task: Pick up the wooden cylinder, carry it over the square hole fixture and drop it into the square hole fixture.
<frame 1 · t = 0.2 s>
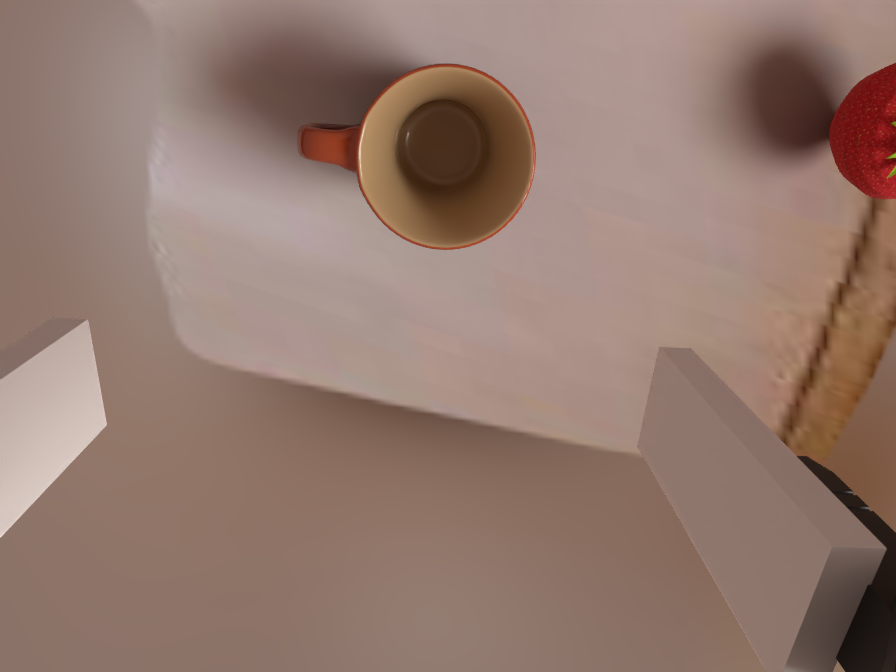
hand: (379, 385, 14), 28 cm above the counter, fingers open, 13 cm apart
mug: (417, 139, 39), on the counter
strawberry: (835, 126, 39), on the counter
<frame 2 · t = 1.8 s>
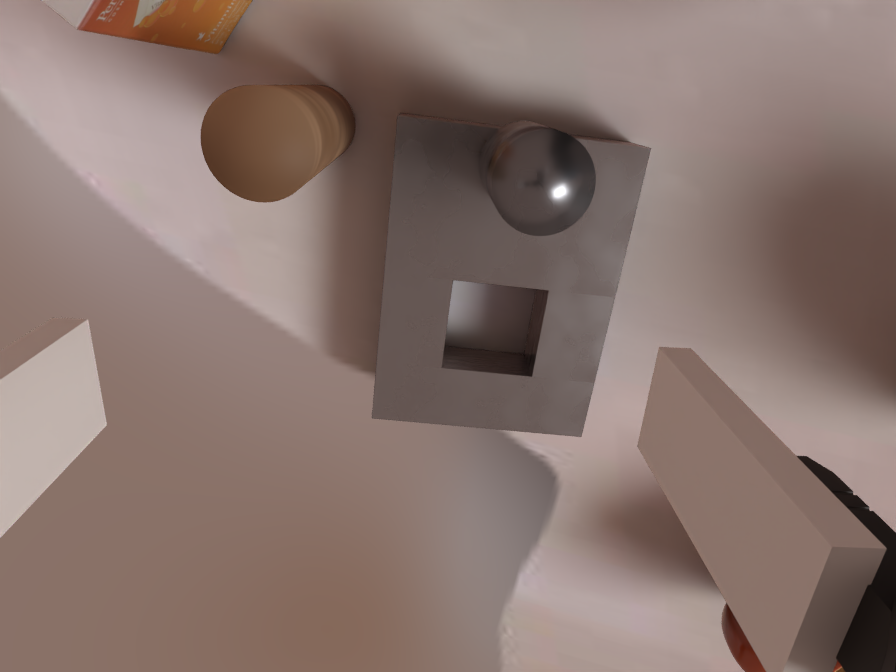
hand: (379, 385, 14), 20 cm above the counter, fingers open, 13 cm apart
wooden cylinder: (319, 123, 30), on the counter
square hole fixture: (493, 277, 34), on the counter
mug: (761, 559, 43), on the counter
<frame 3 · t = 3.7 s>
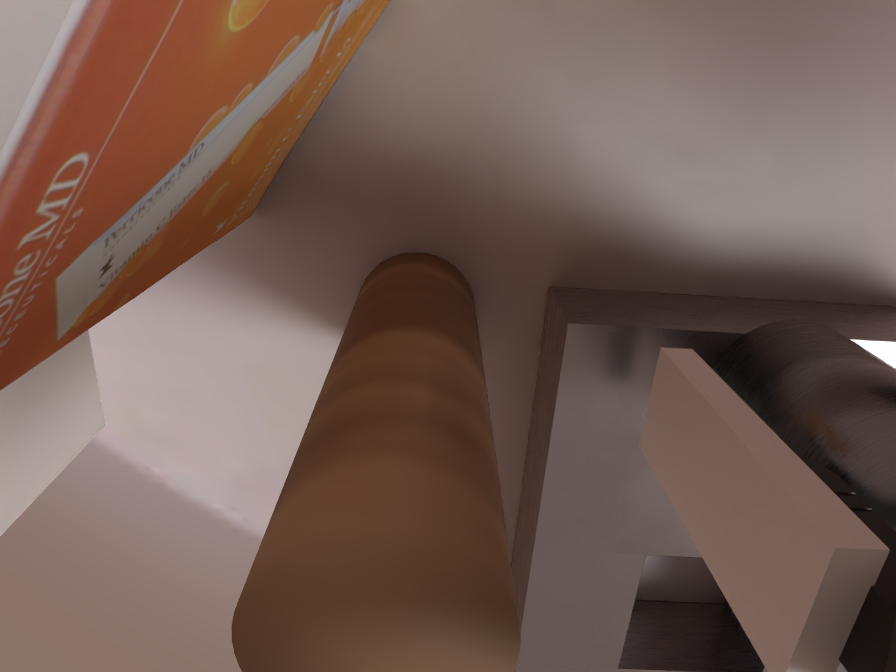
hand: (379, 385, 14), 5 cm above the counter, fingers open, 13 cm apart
wooden cylinder: (416, 309, 19), on the counter
square hole fixture: (686, 508, 22), on the counter
small box: (230, 24, 16), on the counter
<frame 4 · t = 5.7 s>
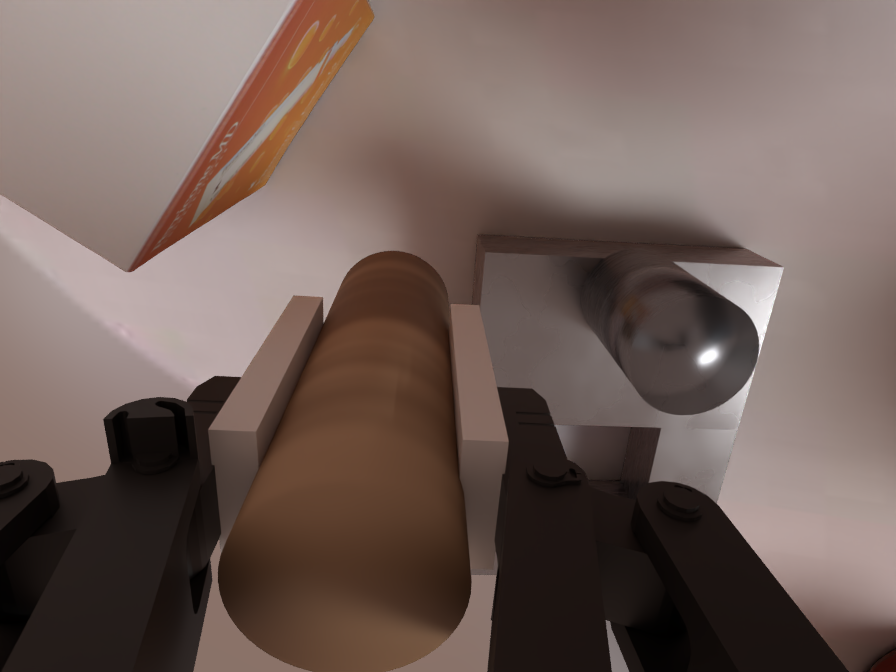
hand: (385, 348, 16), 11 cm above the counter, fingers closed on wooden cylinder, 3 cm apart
wooden cylinder: (393, 304, 20), point 7 cm above the counter, touching gripper
square hole fixture: (586, 402, 29), on the counter
mug: (883, 670, 38), on the counter
small box: (252, 51, 23), on the counter
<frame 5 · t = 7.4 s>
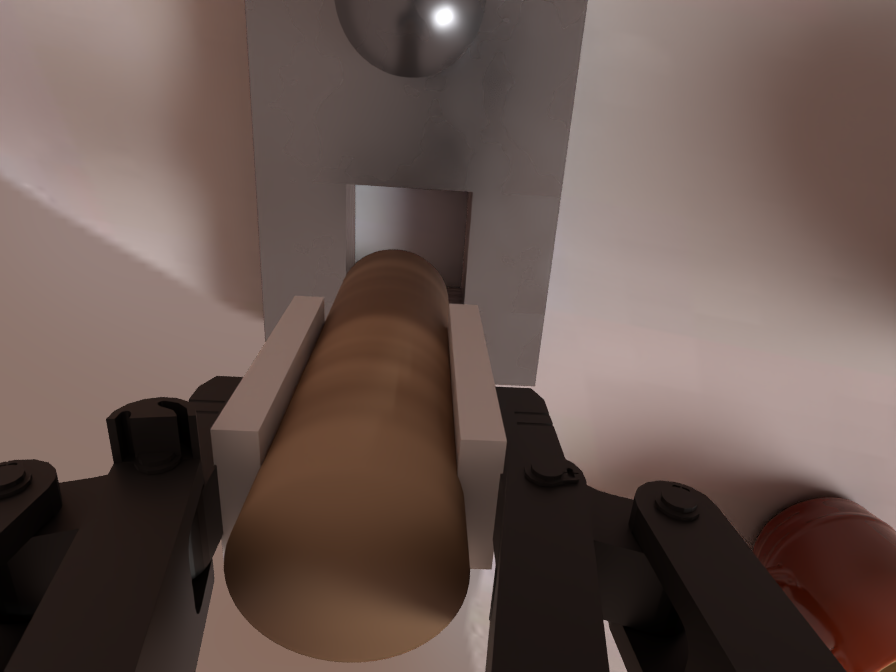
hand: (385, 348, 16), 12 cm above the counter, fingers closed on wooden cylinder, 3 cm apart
wooden cylinder: (394, 302, 20), point 8 cm above the counter, touching gripper
square hole fixture: (411, 187, 27), on the counter
mug: (779, 534, 35), on the counter
when the fingers open (4 cm above the counter, at t = 9.2 s): wooden cylinder stays where it is, resting in square hole fixture.
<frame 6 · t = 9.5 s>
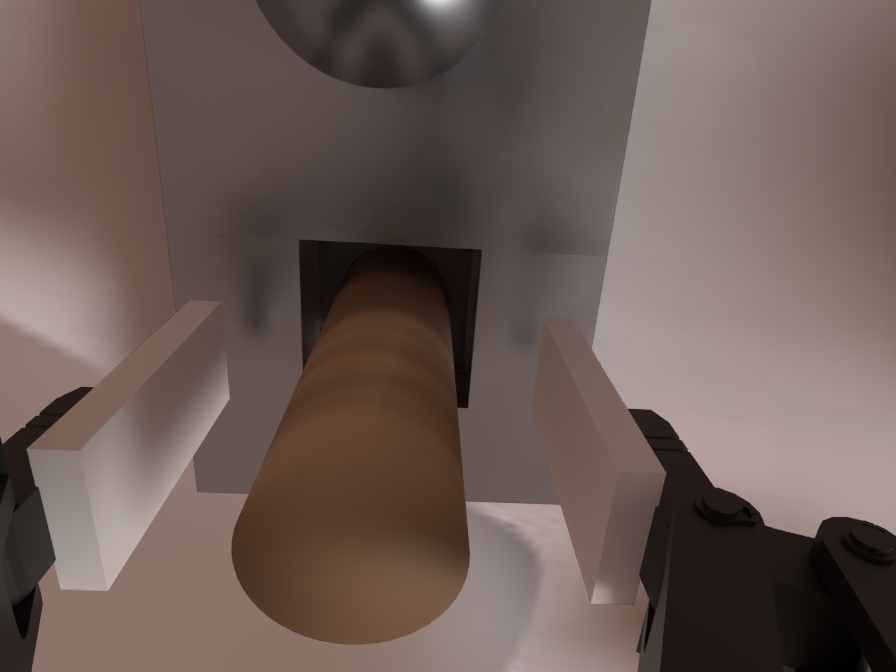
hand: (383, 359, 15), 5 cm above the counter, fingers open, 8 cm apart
wooden cylinder: (394, 298, 20), resting in square hole fixture
square hole fixture: (396, 236, 19), on the counter
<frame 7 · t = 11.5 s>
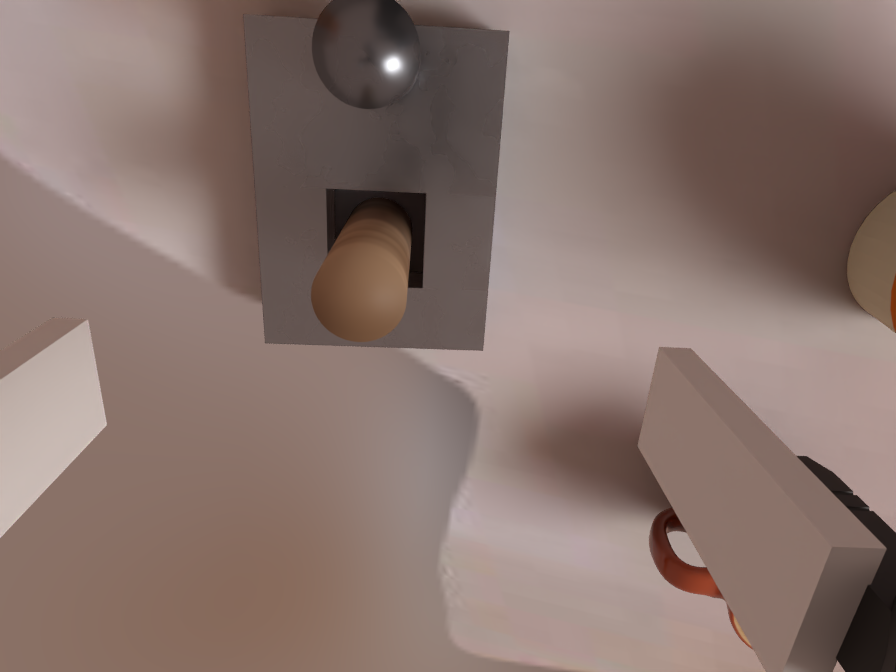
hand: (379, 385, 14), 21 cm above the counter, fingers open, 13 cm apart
wooden cylinder: (380, 229, 34), resting in square hole fixture
square hole fixture: (380, 191, 33), on the counter
mug: (700, 480, 42), on the counter
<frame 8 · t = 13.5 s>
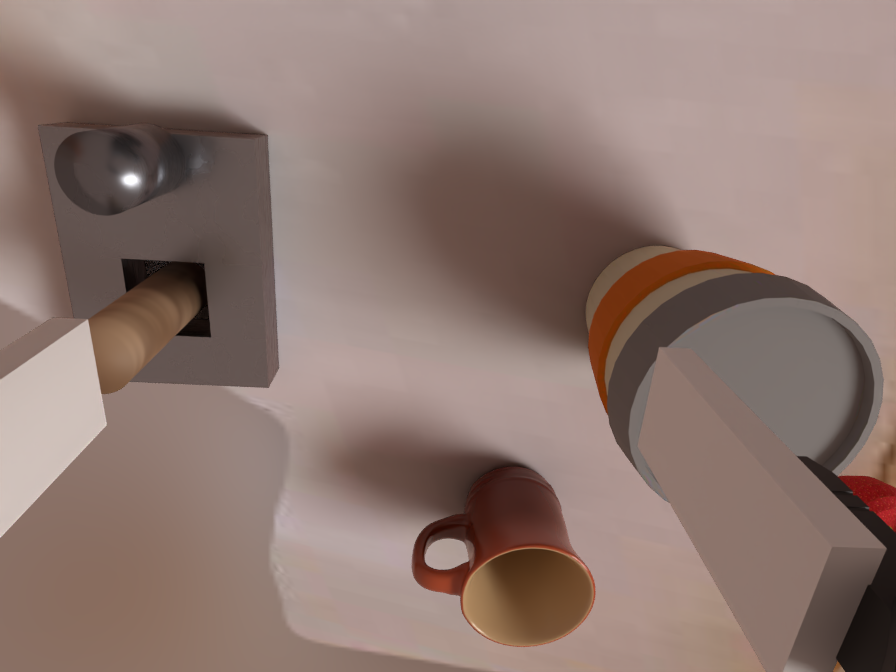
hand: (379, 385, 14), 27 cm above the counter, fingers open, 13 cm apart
wooden cylinder: (185, 285, 41), resting in square hole fixture
square hole fixture: (182, 255, 40), on the counter
mug: (488, 494, 48), on the counter
reusable coffee cup: (647, 306, 43), on the counter
strawberry: (824, 480, 49), on the counter
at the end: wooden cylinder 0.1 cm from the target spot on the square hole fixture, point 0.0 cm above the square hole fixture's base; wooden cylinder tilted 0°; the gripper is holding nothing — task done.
